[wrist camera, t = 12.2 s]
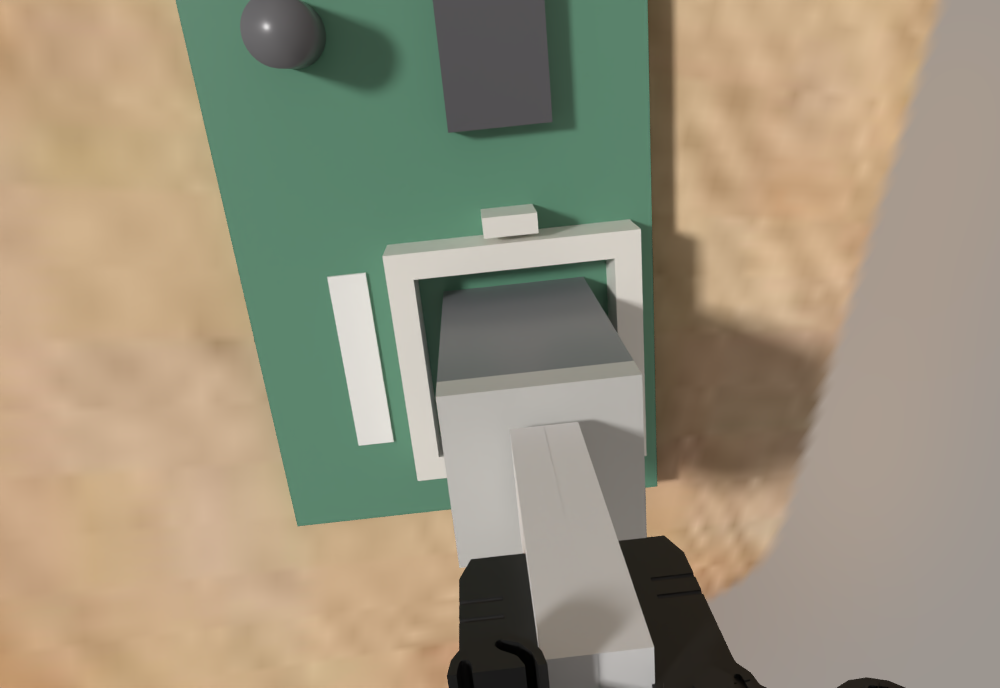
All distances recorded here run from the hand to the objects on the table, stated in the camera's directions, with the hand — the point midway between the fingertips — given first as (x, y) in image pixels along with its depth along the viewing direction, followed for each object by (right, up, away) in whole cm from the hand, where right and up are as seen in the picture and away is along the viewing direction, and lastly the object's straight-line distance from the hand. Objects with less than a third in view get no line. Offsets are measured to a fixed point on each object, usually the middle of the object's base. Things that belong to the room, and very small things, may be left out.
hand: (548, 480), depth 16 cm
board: (-3, +7, +7) cm, 10 cm away
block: (0, +3, +8) cm, 8 cm away
